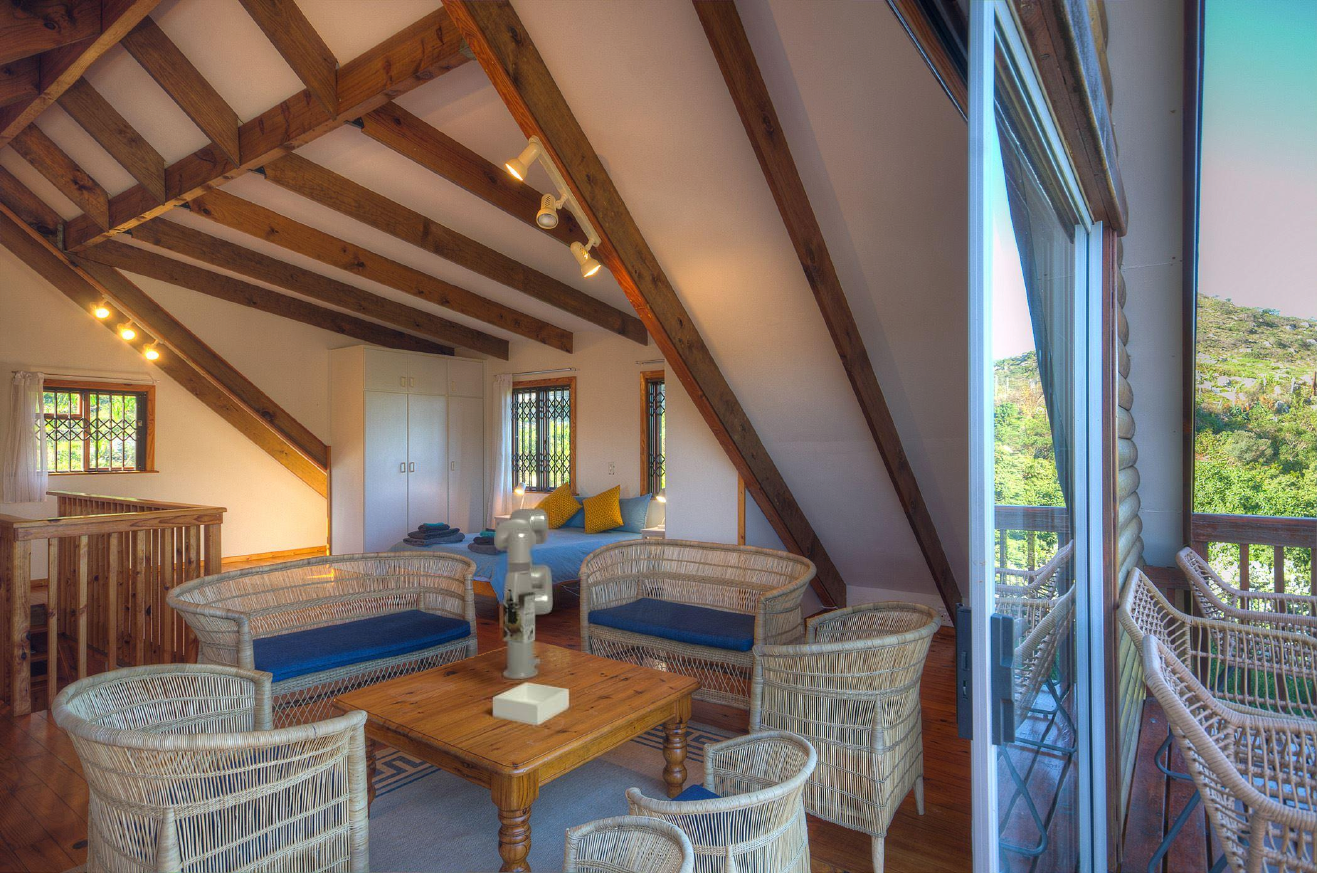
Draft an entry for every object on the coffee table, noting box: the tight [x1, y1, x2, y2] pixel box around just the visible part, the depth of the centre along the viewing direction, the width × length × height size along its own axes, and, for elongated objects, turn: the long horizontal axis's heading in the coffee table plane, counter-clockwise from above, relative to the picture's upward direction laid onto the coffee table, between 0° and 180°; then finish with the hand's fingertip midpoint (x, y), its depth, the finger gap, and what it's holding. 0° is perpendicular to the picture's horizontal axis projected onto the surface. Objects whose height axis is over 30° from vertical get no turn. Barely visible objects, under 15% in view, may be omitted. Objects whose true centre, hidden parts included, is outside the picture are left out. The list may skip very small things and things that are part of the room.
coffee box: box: [502, 592, 536, 644], centre depth 249 cm, size 9×6×16 cm
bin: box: [492, 681, 570, 726], centre depth 234 cm, size 17×17×6 cm
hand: (519, 620), depth 249 cm, fingers closed on coffee box, 6 cm apart
